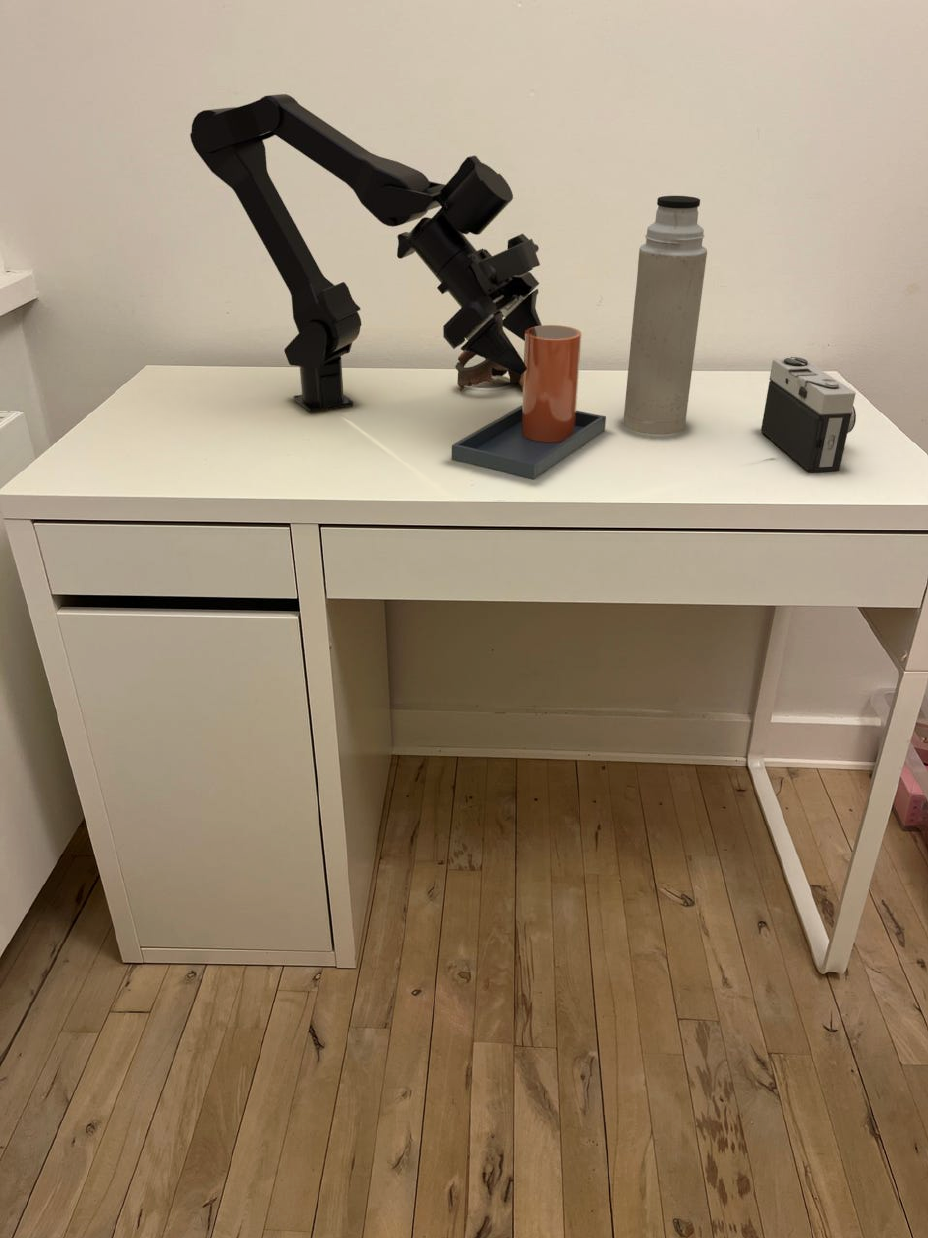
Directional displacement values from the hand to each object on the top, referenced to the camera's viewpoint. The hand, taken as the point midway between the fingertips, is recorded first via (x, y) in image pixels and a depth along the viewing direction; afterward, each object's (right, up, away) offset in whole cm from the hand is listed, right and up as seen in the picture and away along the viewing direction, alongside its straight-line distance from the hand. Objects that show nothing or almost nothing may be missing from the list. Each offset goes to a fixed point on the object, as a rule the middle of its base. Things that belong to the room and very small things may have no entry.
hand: (536, 361), depth 121 cm
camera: (+34, -11, +1) cm, 36 cm away
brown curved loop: (-5, +1, +21) cm, 22 cm away
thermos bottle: (+16, -7, +8) cm, 19 cm away
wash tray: (-1, -11, +1) cm, 11 cm away
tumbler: (+2, -8, +4) cm, 9 cm away
